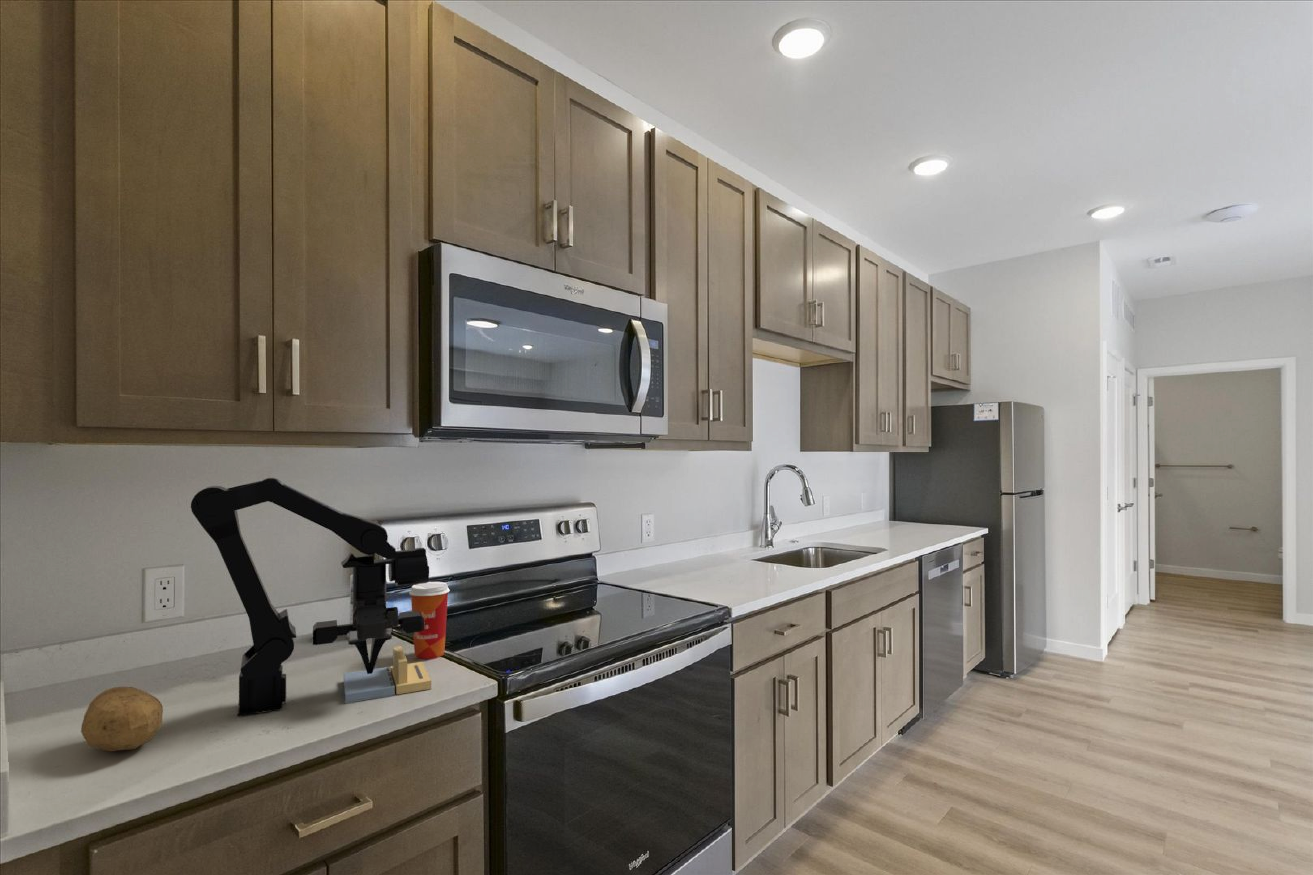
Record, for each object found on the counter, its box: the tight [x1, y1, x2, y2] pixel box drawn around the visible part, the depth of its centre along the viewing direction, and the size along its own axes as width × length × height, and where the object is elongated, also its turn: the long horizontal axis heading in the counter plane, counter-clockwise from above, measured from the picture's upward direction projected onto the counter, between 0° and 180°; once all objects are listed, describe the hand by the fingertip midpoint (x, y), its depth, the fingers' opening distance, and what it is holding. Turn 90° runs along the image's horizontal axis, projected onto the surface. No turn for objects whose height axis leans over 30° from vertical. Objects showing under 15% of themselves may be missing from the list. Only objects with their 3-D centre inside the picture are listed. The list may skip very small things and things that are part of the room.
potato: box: [80, 686, 164, 752], centre depth 97 cm, size 10×14×8 cm
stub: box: [389, 645, 432, 695], centre depth 124 cm, size 6×12×6 cm, turn 27°
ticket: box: [343, 666, 396, 704], centre depth 121 cm, size 8×12×2 cm, turn 27°
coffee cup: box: [408, 581, 451, 660], centre depth 140 cm, size 8×8×15 cm
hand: (369, 673), depth 121 cm, fingers closed
